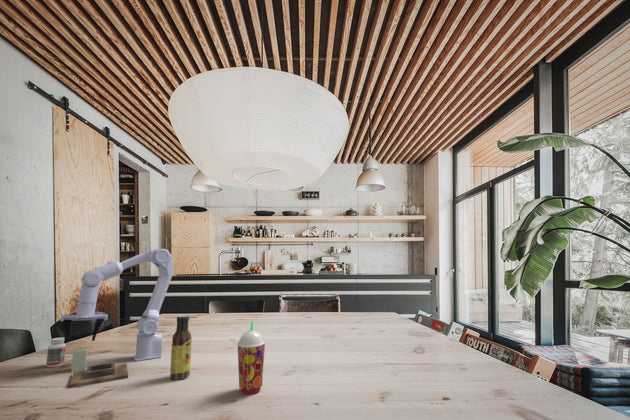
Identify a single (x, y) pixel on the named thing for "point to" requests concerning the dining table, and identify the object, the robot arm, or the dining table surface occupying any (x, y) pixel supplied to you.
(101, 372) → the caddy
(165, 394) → the dining table surface
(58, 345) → the pill bottle
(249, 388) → the smoothie
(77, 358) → the peg
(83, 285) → the robot arm
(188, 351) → the sauce bottle
